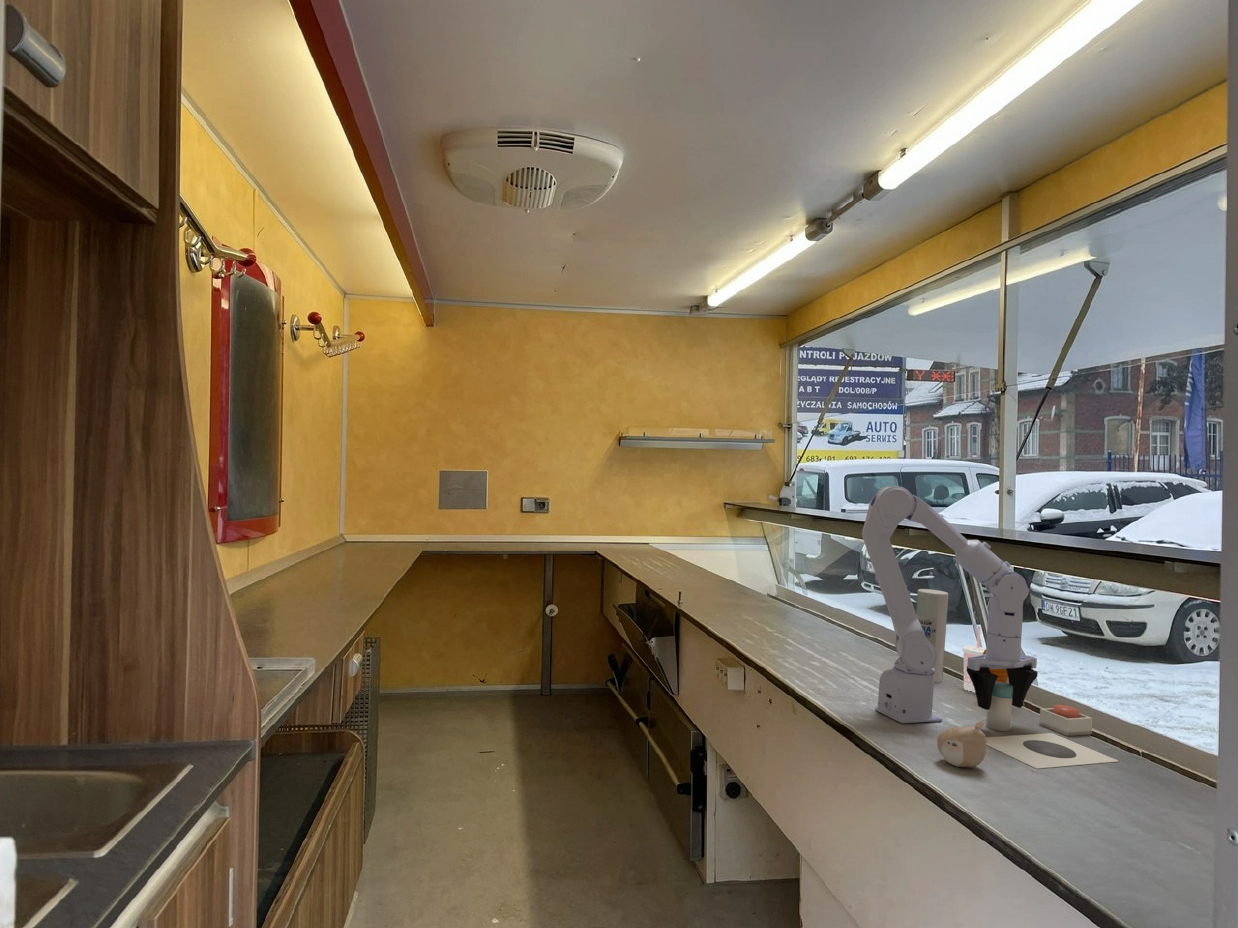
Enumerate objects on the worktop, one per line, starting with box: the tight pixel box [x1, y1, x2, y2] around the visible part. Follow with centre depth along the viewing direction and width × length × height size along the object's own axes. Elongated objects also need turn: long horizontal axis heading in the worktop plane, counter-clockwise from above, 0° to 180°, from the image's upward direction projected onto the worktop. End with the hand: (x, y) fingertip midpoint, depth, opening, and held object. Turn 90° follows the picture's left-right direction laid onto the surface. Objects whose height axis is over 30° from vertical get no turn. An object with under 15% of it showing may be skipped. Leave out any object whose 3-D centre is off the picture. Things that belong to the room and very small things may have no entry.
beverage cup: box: [962, 625, 986, 693], centre depth 164 cm, size 6×6×14 cm
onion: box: [937, 720, 987, 769], centre depth 119 cm, size 7×6×8 cm
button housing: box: [1038, 707, 1093, 737], centre depth 140 cm, size 6×6×3 cm
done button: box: [1052, 704, 1080, 719], centre depth 140 cm, size 4×4×2 cm
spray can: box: [915, 588, 949, 684], centre depth 171 cm, size 6×6×20 cm
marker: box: [985, 681, 1013, 732], centre depth 139 cm, size 4×4×8 cm
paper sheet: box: [986, 732, 1120, 770], centre depth 128 cm, size 18×13×1 cm
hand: (999, 707), depth 139 cm, fingers open, 7 cm apart
